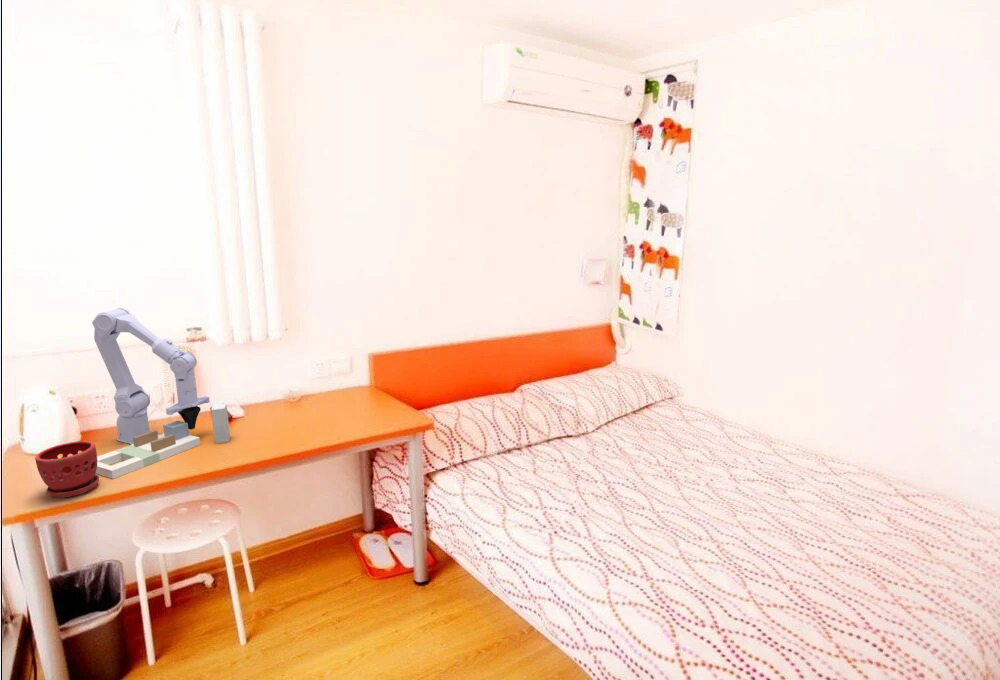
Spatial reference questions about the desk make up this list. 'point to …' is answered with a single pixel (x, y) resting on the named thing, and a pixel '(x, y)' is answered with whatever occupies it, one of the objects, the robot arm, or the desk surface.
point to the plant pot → (68, 468)
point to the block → (176, 429)
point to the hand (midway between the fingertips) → (191, 428)
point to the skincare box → (220, 423)
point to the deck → (143, 453)
